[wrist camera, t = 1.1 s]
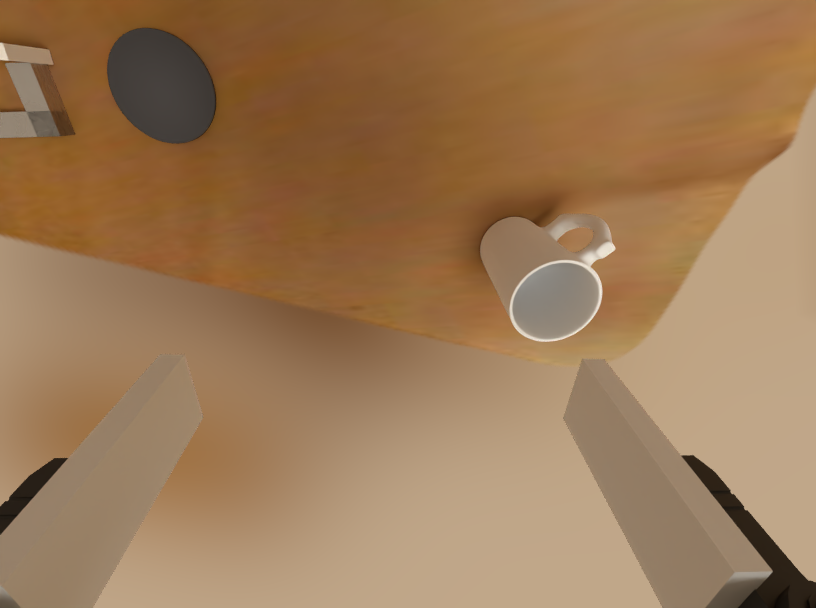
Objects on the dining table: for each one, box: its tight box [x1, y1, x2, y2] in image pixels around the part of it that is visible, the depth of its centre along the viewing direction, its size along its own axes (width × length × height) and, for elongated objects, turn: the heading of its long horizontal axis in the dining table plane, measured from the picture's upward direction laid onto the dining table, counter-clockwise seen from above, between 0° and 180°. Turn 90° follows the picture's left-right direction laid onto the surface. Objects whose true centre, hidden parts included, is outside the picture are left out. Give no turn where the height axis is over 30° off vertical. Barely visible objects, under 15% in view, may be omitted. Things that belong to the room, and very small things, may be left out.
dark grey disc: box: [107, 28, 216, 143], centre depth 31 cm, size 8×8×1 cm
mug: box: [480, 214, 615, 342], centre depth 33 cm, size 10×7×12 cm, turn 135°
